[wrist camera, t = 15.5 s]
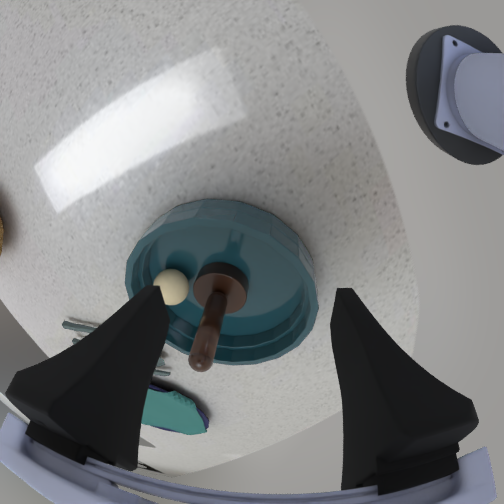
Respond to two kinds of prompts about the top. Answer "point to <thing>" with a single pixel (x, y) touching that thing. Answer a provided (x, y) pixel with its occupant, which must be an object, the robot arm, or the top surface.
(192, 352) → the wooden pestle
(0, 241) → the potato
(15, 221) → the top surface
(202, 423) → the cutlery set
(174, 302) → the dough ball
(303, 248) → the bowl
